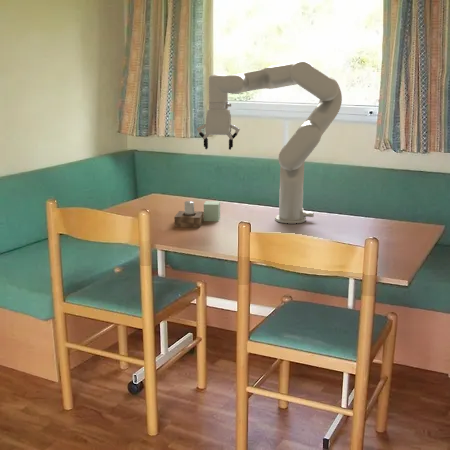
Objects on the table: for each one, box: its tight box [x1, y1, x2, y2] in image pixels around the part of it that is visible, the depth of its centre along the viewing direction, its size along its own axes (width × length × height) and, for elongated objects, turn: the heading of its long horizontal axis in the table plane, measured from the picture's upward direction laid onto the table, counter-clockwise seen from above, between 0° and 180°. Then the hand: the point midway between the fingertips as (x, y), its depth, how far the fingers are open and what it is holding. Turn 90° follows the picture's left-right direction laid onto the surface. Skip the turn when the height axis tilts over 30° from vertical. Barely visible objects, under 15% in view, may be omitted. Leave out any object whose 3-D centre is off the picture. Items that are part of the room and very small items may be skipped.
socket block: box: [174, 210, 205, 229], centre depth 253 cm, size 10×10×4 cm
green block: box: [203, 200, 221, 222], centre depth 260 cm, size 6×6×7 cm
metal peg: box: [184, 200, 195, 216], centre depth 252 cm, size 4×4×9 cm
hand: (218, 149), depth 258 cm, fingers open, 9 cm apart
